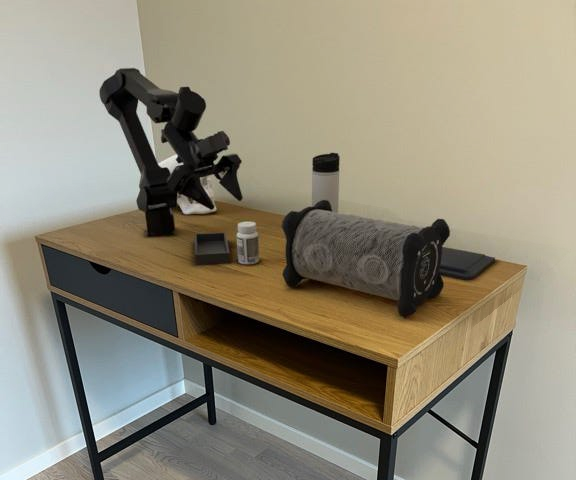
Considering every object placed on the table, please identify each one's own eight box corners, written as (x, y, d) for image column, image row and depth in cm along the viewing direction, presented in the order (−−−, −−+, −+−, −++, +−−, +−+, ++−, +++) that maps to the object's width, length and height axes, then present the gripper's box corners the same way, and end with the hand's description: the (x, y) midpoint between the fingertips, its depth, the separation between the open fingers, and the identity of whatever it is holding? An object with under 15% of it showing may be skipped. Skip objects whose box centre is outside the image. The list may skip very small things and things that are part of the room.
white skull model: (201, 213, 160) (172, 144, 156) (161, 236, 174) (134, 173, 170) (235, 203, 169) (209, 138, 165) (195, 226, 183) (170, 166, 180)
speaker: (408, 323, 103) (417, 238, 95) (279, 288, 118) (277, 212, 110) (444, 296, 113) (455, 217, 106) (321, 267, 128) (322, 196, 121)
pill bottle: (260, 258, 134) (259, 221, 130) (257, 265, 130) (256, 227, 125) (240, 257, 134) (238, 220, 130) (236, 264, 130) (233, 226, 126)
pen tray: (230, 262, 131) (229, 252, 130) (196, 264, 130) (195, 254, 129) (226, 241, 145) (225, 232, 144) (195, 243, 144) (194, 233, 143)
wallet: (383, 254, 129) (415, 237, 140) (382, 262, 130) (414, 245, 141) (470, 272, 119) (498, 253, 129) (468, 281, 120) (496, 261, 130)
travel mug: (343, 241, 144) (346, 154, 134) (325, 247, 140) (327, 158, 130) (323, 236, 148) (325, 151, 138) (306, 242, 144) (306, 155, 134)
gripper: (170, 123, 116) (216, 188, 116) (233, 114, 129) (274, 172, 129) (148, 161, 125) (191, 222, 125) (209, 149, 137) (247, 204, 137)
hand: (227, 204), depth 129 cm, fingers open, 9 cm apart
